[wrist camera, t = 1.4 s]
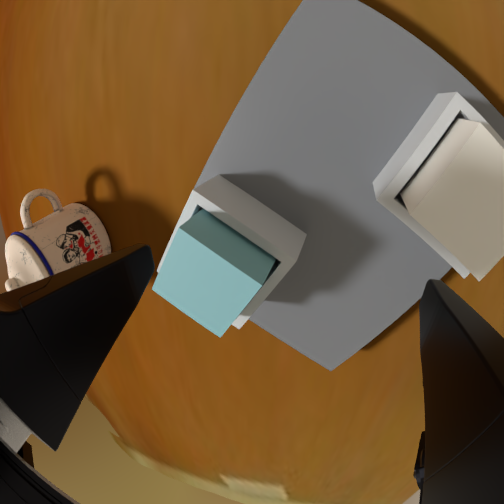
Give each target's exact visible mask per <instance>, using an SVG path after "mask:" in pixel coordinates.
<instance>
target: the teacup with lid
mask: <svg viewBox="0 0 504 504" xmlns="http://www.w3.org/2000/svg"><path fill="white" fill-rule="evenodd" d="M37 196H44V197H46V198H47V199H49V201H50V202H51V204H52V206H53V209H54V213H52V214H50V215H48V216H46V217H45V218H43V219H41V220H39V221H37V222H36V223H34V224H32V222H31V218H30V214H29V208H30V204H31V202H32V200H33V199H34V198H35V197H37ZM20 213H21V219H22V223H23V226H24V229H23V230H22V231H20V232H14V233H12V234H11V235H10V237H9V238H8V240H7V242H6V245H5V256H6V261H7V265H8V275H9V278H10V279H8V280H7V281H6V283H5V287H6V290H7V291H10V290H13V289H16V288H19V287H22V286H25V285H27V284H30V283H33V282H36V281H38V280H41V279H44V278H46V277H49V276H51V275H55V274H57V273H59V272H62V271H64V270H67V269H70V268H72V267H75V266H78V265H80V264H83V263H86V262H88V261H91V260H94V259H97V258H99V257H102V256H105V255H108V254H110V253H111V245H110V240H109V237H108V234H107V232H106V230H105V228H104V226H103V224H102V222H101V221H100V219H99V218H98V217H97V215H96V214H95V213H94V212H93V211H92V210H90V209H89V208H88V207H86V206H84V205H82V204H78V203H72V204H69V205H67V206H65V207H63V208H62V205H61V202H60V200H59V198H58V196H57V195H56V194H55V193H54V192H52V191H50V190H47V189H37V190H33V191H31V192H29V193H28V194H27V195H26V196H25V197H24V199H23V201H22V204H21V209H20Z"/></svg>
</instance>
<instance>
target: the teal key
mask: <svg viewBox="0 0 504 504" xmlns="http://www.w3.org/2000/svg"><path fill="white" fill-rule="evenodd" d="M275 260H276V258H275V257H274V256H272V255H271V254H269V253H268V252H266V251H265V250H263V249H262V248H261V247H259V246H258V245H256V244H255V243H253V242H252V241H250V240H249V239H248V238H246V237H245V236H243V235H242V234H240V233H239V232H237V231H236V230H234V229H233V228H232V227H230V226H229V225H227V224H226V223H224V222H223V221H221V220H220V219H218V218H217V217H215V216H214V215H213V214H211V213H210V212H208V211H207V210H205V209H204V208H203V209H202V210H201V211H199V212H198V213H197V214H195V215H194V216H193V217H191V218H190V219H189V220H188V221H186V222H185V223H184V224H182V225H181V226H180V227H179V228H178V230H177V232H176V234H175V237H174V239H173V241H172V243H171V245H170V248H169V250H168V252H167V255H166V257H165V259H164V261H163V264H162V266H161V268H160V271H159V273H158V276H157V278H156V280H155V283H154V285H153V288H152V290H154V291H155V292H156V293H158V294H159V295H160V296H162V297H163V298H164V299H166V300H167V301H168V302H170V303H171V304H173V305H174V306H175V307H177V308H178V309H179V310H181V311H182V312H184V313H185V314H186V315H188V316H189V317H191V318H192V319H194V320H195V321H196V322H198V323H199V324H201V325H202V326H204V327H205V328H207V329H208V330H210V331H211V332H213V333H214V334H215V335H217V336H218V337H221V336H222V335H223V334H224V333H225V331H226V330H227V329H228V328H229V326H230V325H231V324H232V323H233V321H234V320H235V319H236V318H237V317H238V315H239V314H240V313H241V312H242V310H243V309H244V308H245V307H246V305H247V304H248V303H249V302H250V300H251V299H252V298H253V297H254V295H255V294H256V293H257V292H258V290H259V289H260V288H261V287H262V285H263V283H264V282H265V280H266V278H267V276H268V274H269V272H270V270H271V268H272V266H273V264H274V262H275Z"/></svg>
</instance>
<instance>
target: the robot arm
mask: <svg viewBox="0 0 504 504" xmlns="http://www.w3.org/2000/svg"><path fill="white" fill-rule="evenodd" d="M154 268H155V267H154V261H153V256H152V252H151V248H150V246H149V245H146V244H136V245H133V246H130V247H127V248H125V249H122V250H119V251H116V252H113V253H110V254H108V255H105V256H102V257H99V258H97V259H94V260H91V261H88V262H86V263H83V264H80V265H78V266H75V267H72V268H70V269H67V270H64V271H62V272H59V273H57V274H55V275H51V276H49V277H46V278H44V279H41V280H38V281H36V282H33V283H30V284H27V285H25V286H22V287H19V288H16V289H13V290H10V291H7V292H5V293H2V294H0V504H80V503H78V502H77V501H75V500H74V499H73V498H71V497H70V496H68V495H67V494H65V493H64V492H63V491H61V490H60V489H59V488H57V487H56V486H55V485H53V484H52V483H51V482H50V481H48V480H47V479H46V478H45V477H43V476H42V475H41V474H40V473H39V472H37V471H36V470H35V469H34V464H33V456H32V447H31V445H30V444H29V443H27V441H26V440H27V438H28V437H29V435H30V434H31V433H32V434H33V435H35V436H36V437H37V438H38V439H40V440H41V441H42V442H43V443H45V444H46V445H47V446H49V447H50V448H51V449H53V450H54V451H56V450H57V449H58V447H59V445H60V443H61V441H62V439H63V437H64V435H65V433H66V431H67V429H68V427H69V425H70V423H71V421H72V419H73V417H74V415H75V413H76V411H77V409H78V408H79V405H80V404H81V401H82V400H83V398H84V396H85V394H86V392H87V390H88V389H89V387H90V385H91V383H92V381H93V379H94V378H95V376H96V374H97V372H98V371H99V369H100V367H101V365H102V363H103V362H104V360H105V358H106V356H107V355H108V353H109V351H110V350H111V348H112V346H113V344H114V343H115V341H116V339H117V338H118V336H119V334H120V333H121V331H122V329H123V328H124V326H125V324H126V323H127V321H128V319H129V318H130V316H131V315H132V313H133V311H134V310H135V308H136V306H137V304H138V302H139V300H140V298H141V296H142V294H143V292H144V290H145V288H146V286H147V284H148V282H149V280H150V278H151V276H152V274H153V272H154ZM419 313H420V352H421V363H422V373H423V386H424V403H425V431H423V432H422V434H421V439H420V443H419V448H418V453H417V458H416V463H415V468H414V478H416V480H417V484H418V487H419V489H420V490H421V493H420V502H419V504H504V338H503V337H502V336H501V335H500V334H499V333H498V332H497V331H496V330H495V329H494V328H493V327H492V326H491V325H490V324H489V323H488V322H487V321H486V320H484V319H483V318H482V317H481V316H480V315H479V314H478V313H477V312H476V311H475V310H474V309H473V308H472V307H471V306H469V305H468V304H467V303H466V302H465V301H464V300H463V299H462V298H461V297H460V296H458V295H457V294H456V293H455V292H454V291H453V290H452V289H450V288H449V287H448V286H447V285H446V284H445V283H444V282H442V281H441V280H436V279H429V280H428V281H427V283H426V286H425V289H424V292H423V295H422V298H421V301H420V306H419Z"/></svg>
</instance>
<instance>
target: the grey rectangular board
mask: <svg viewBox="0 0 504 504" xmlns="http://www.w3.org/2000/svg"><path fill="white" fill-rule="evenodd" d="M457 118H459V119H465V120H470V121H475V122H480V123H481V124H482V125H483V126H484V127H485V128H486V129H487V130H488V131H489V133H490V134H491V135H492V136H493V137H494V138H495V139H496V140H497V142H498V143H499V144H500V145H501V146H502V147H503V149H504V117H503V116H502V115H501V114H500V113H499V112H498V111H497V110H496V108H495V107H494V106H493V105H492V104H491V103H490V102H489V101H488V100H487V99H486V98H485V97H484V96H483V95H482V94H481V93H480V92H479V91H478V90H477V89H476V88H475V87H474V86H473V85H472V84H471V83H470V82H469V81H468V80H467V79H466V78H465V77H464V76H463V75H462V74H460V73H459V72H458V71H457V70H456V69H455V68H454V67H453V66H451V65H450V64H449V63H448V62H447V61H446V60H444V59H443V58H442V57H441V56H440V55H438V54H437V53H436V52H435V51H433V50H432V49H431V48H430V47H428V46H427V45H426V44H424V43H423V42H422V41H420V40H419V39H418V38H416V37H415V36H414V35H412V34H411V33H409V32H408V31H406V30H405V29H404V28H402V27H401V26H399V25H398V24H396V23H395V22H393V21H392V20H390V19H388V18H387V17H385V16H384V15H382V14H380V13H379V12H377V11H375V10H374V9H372V8H370V7H369V6H367V5H365V4H363V3H362V2H360V1H358V0H303V1H302V2H301V4H300V5H299V7H298V8H297V10H296V11H295V13H294V14H293V16H292V17H291V18H290V20H289V21H288V23H287V24H286V26H285V28H284V29H283V31H282V32H281V34H280V35H279V37H278V38H277V40H276V41H275V43H274V45H273V46H272V48H271V49H270V51H269V53H268V54H267V56H266V57H265V59H264V61H263V62H262V64H261V66H260V67H259V69H258V71H257V72H256V74H255V76H254V77H253V79H252V81H251V82H250V84H249V86H248V87H247V89H246V91H245V93H244V94H243V96H242V98H241V100H240V101H239V103H238V105H237V107H236V109H235V110H234V112H233V114H232V116H231V118H230V119H229V121H228V123H227V125H226V127H225V129H224V130H223V132H222V134H221V136H220V138H219V140H218V142H217V144H216V146H215V147H214V149H213V151H212V153H211V155H210V157H209V159H208V161H207V163H206V165H205V167H204V169H203V171H202V173H201V175H200V177H199V179H198V181H197V183H196V185H195V187H194V189H193V191H192V193H191V195H190V197H189V199H188V201H187V203H186V205H185V207H184V210H183V212H182V214H181V216H180V218H179V220H178V223H177V225H176V227H175V229H174V232H173V234H172V236H171V238H170V241H169V243H168V245H167V247H166V250H165V252H164V254H163V257H162V259H161V262H160V264H159V266H158V269H157V272H158V273H159V271H160V268H161V266H162V264H163V261H164V259H165V257H166V255H167V252H168V250H169V248H170V245H171V243H172V241H173V239H174V237H175V234H176V232H177V230H178V228H179V227H180V226H181V225H182V224H184V223H185V222H186V221H188V220H189V219H190V218H191V217H193V216H194V215H195V214H197V213H198V212H199V211H201V210H202V209H203V208H204V209H205V210H207V211H208V212H210V213H211V214H213V215H214V216H215V217H217V218H218V219H220V220H221V221H223V222H224V223H226V224H227V225H229V226H230V227H232V228H233V229H234V230H236V231H237V232H239V233H240V234H242V235H243V236H245V237H246V238H248V239H249V240H250V241H252V242H253V243H255V244H256V245H258V246H259V247H261V248H262V249H263V250H265V251H266V252H268V253H269V254H271V255H272V256H274V257H275V258H276V260H275V262H274V264H273V266H272V268H271V270H270V272H269V274H268V276H267V278H266V280H265V282H264V283H263V285H262V287H261V288H260V289H259V290H258V292H257V293H256V294H255V295H254V297H253V298H252V299H251V300H250V302H249V303H248V304H247V305H246V307H245V308H244V309H243V310H242V312H241V313H240V314H239V315H238V317H237V318H236V319H235V320H234V321H233V323H232V325H234V326H235V327H237V328H238V329H240V328H241V327H242V326H243V324H244V323H245V322H246V321H247V320H248V319H249V320H251V321H252V322H254V323H255V324H257V325H258V326H260V327H261V328H263V329H264V330H266V331H268V332H269V333H271V334H272V335H274V336H275V337H277V338H278V339H280V340H281V341H283V342H285V343H286V344H288V345H289V346H291V347H292V348H294V349H296V350H297V351H299V352H300V353H302V354H304V355H305V356H307V357H308V358H310V359H312V360H313V361H315V362H317V363H318V364H320V365H322V366H323V367H325V368H326V369H328V370H330V371H332V370H333V369H334V368H336V367H337V366H339V365H340V364H341V363H343V362H344V361H345V360H347V359H348V358H349V357H351V356H352V355H353V354H355V353H356V352H357V351H359V350H360V349H361V348H362V347H364V346H365V345H366V344H368V343H369V342H370V341H371V340H373V339H374V338H375V337H376V336H378V335H379V334H380V333H381V332H382V331H384V330H385V329H386V328H387V327H388V326H390V325H391V324H392V323H393V322H394V321H395V320H397V319H398V318H399V317H400V316H401V315H402V314H403V313H405V312H406V311H407V310H408V309H409V308H410V307H411V306H412V305H414V304H415V303H416V302H417V301H418V300H419V299H420V298H421V297H422V295H423V292H424V289H425V286H426V283H427V281H428V280H429V279H436V280H440V279H441V278H442V277H443V276H444V275H445V274H446V273H447V272H448V271H449V270H450V269H451V268H452V267H453V268H454V269H455V270H456V271H457V272H458V273H459V274H460V275H461V276H462V277H463V278H464V279H465V278H466V277H467V276H468V275H469V273H470V271H469V270H468V269H467V268H466V267H465V266H464V265H463V264H462V263H461V262H460V261H459V260H458V259H457V258H456V257H455V256H454V255H453V254H452V253H451V252H450V251H449V250H448V249H447V248H446V247H445V246H443V245H442V244H441V243H440V242H439V241H438V240H437V239H436V238H435V237H434V236H433V235H432V234H431V233H430V232H428V231H427V230H426V229H425V228H424V227H423V226H422V225H421V224H420V223H418V222H417V221H416V220H415V219H414V218H413V217H412V216H410V214H409V212H408V210H407V208H406V205H405V203H404V201H403V199H402V197H401V195H400V193H401V192H402V191H403V189H404V188H405V187H406V186H407V184H408V183H409V182H410V181H411V179H412V178H413V177H414V176H415V174H416V173H417V172H418V170H419V169H420V168H421V167H422V165H423V164H424V163H425V161H426V160H427V159H428V157H429V156H430V155H431V153H432V152H433V151H434V149H435V148H436V147H437V145H438V144H439V143H440V141H441V140H442V138H443V137H444V136H445V134H446V133H447V131H448V130H449V129H450V127H451V126H452V124H453V123H454V122H455V120H456V119H457Z"/></svg>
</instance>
